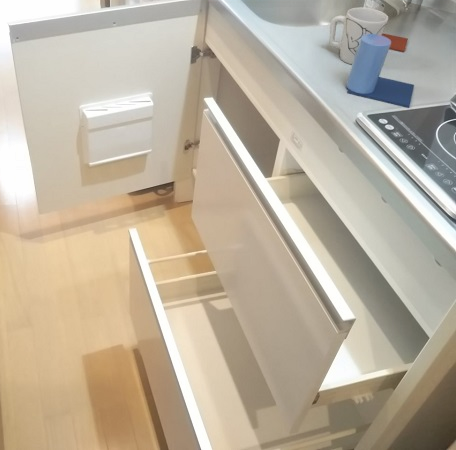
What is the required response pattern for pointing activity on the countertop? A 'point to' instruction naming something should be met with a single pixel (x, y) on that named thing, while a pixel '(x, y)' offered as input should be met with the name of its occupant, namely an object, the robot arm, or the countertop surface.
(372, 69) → the light blue cylinder
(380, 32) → the mug
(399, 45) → the terracotta mat
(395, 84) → the blue mat
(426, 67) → the countertop surface
